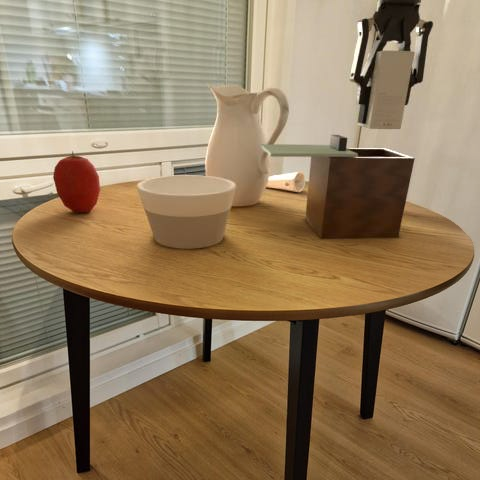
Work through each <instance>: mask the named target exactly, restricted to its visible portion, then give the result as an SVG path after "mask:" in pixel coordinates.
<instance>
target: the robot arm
mask: <svg viewBox="0 0 480 480" xmlns="http://www.w3.org/2000/svg"><path fill="white" fill-rule="evenodd" d="M421 3H422V0H376V9H375V11H374V14H373V16H372V17H369V18H363V19H359V20H358V21H357V23H356V26H357V40H356V43H355V49H354V54H353V59H352V63H351V69H350V73H349V74H350V75H349V81H350V82H352V83H354V84H356V85H357V93H356V105H359V110H358V111H359V112H358V116H357V117H358V118H357V124H358V123H361V124H366V120H367V113H368V107H369V101H370V94H371V88H372V86H367V84H368V83H369V80H370V78H371V76H372V73H373V71H374V67H375V61H376V55H377V52H380V51H384V48H385V47H386V45H387V43H390V42H391V43H396V48H397V51H411V45H412V37H411V33H412V32H413V31H414V30H415V28H416V30H415V33H416V38H415V42H414V43H415V44H414V52H415V53H414V59H413V64H412V69H411V75H410V80H409V86H408V91H407V96H406V102H405V106H408V104H409V103H410V97H411V91H412V88H413V87H414V86H415V85H417V84H421V83H422V82H423V81H424V74H425V67H426V58H427V50H428V44H429V36H430V34H431V32H432V29H433V26H434V22H433V20H429V21H427V20H424V19H421V16H420V7H421ZM373 28H374V29H375V32H376V35H375V39H374V40H373V44H372V45H373V46H372V47H371V50H370V52H369V53H370V55H369V57H368V56H367V58H368V59H366V62H365V64H364V60H365V56H366V53H367V52H366V51H367V46H368V42H369V36H370V32H371V31H372V29H373ZM363 66H364V67H363Z"/></svg>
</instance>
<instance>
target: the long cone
mask: <svg viewBox="0 0 480 480" xmlns="http://www.w3.org/2000/svg"><path fill="white" fill-rule="evenodd" d="M305 185H306V176H305V174H304V173H303V172H302V171H297V172H290V173H283V174H277V175H276V174H275V175H269V180H268V184H267V186H266V188H270V189H274V190H281V191H287V192H294V193H301V192H302V191H303V190H304V188H305Z"/></svg>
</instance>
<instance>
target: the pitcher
mask: <svg viewBox="0 0 480 480" xmlns="http://www.w3.org/2000/svg"><path fill="white" fill-rule="evenodd" d="M206 85H207V87H208V88H209V89H210V91H211V93H212V94H213V96H214V99H215V101H216V105H217V111H216V119H215V121H214V125H213V128H212V131H211V134H210V137H209V140H208V144H207V148H206V154H205V162H204V171H205V176H212V177H219V178H223V179H227V180H230V181H232V182H234V183H235V184H236V190H235V193H234V197H233V201H232V205H231V207H250V206H253V205H256V204H258V203H259V201H260V200H261V198H262V197H263V194H264V193H265V191H266V188H267V187H266V186H267V184H268V180H269V176H270V173H271V156H270V155H269V154H268V153H267V152H265V151H264V150H263V149H262V148H261V144H275V143H276V141H277V140H278V138H279V137H280V136H281V134H282V132H283V130H284V128H285V127H286V124H287V121H288V119H289V113H290V105H289V100H288V97H287V96H286V94H285V92H283V90H281V89H280V88H278V87H268V88H264V89H263V90H261V91H260V92H250V91H249V90H246V89H245V88H243V87H242V86H240V85H237V84H226V85H219V86H212V85H211V84H210V83H207V84H206ZM270 96H272V97H273V98H275V99H276V100H277V103H278V104H279V117H278V121H277V124H276V127H275V128H274V130H273V132H272V134H271V135H270V138H269V139H268V141H267V138H266V135H265V132H264V128H263V124H262V121H261V116H260V115H261V114H260V110H261V107H262V105H263V103H264V102H265V100H266V99H268V98H269V97H270Z"/></svg>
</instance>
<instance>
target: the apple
mask: <svg viewBox="0 0 480 480" xmlns="http://www.w3.org/2000/svg"><path fill="white" fill-rule="evenodd" d="M71 153H72V155H69V156H66V157H64V158H62V159H60V160H59V161H58V162H57V163H56V165H55V167H54V170H53V176H52V179H53V182H54V187H55V190H56V194H57V196H58V197H59V199H60V200H61V202H62V204H63V205H64V207H66V208H67V209H69V210H70V211H72V213H78V214H87V213H90V212H92V210H93V209H94V208H95V206H96V205H97V203H98V199H99V196H100V193H101V186H100V185H101V184H100V176H99V174H98V172H97V170H96V168H95V166H94V164H93V163H92V162H91V160H89V159H88V158H87V157H83V156H80V155H74V151H73V150H72V151H71Z"/></svg>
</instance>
